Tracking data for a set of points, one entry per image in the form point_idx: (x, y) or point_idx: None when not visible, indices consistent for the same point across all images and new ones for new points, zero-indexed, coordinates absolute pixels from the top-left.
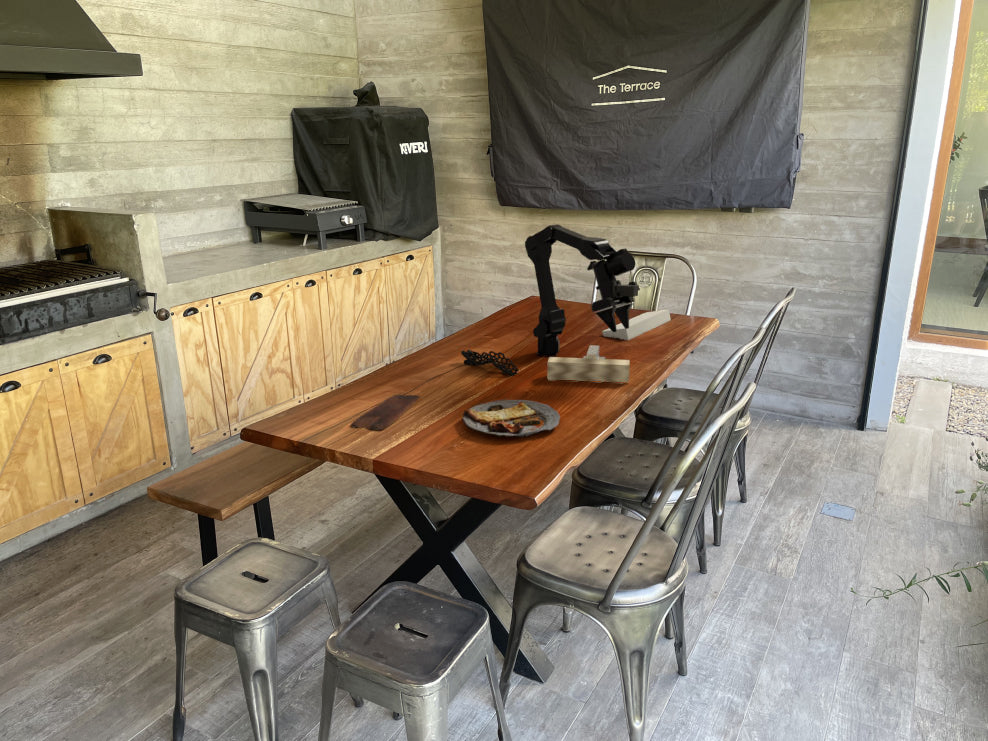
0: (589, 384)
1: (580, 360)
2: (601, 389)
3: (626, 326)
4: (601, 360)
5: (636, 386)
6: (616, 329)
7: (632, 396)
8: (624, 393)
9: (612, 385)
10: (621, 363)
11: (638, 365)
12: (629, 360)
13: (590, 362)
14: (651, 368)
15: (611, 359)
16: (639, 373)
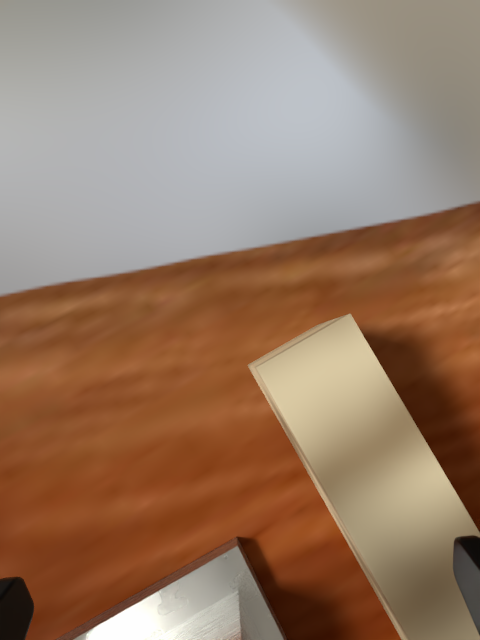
0: (444, 470)
1: (470, 638)
2: (464, 383)
3: (9, 623)
4: (380, 516)
5: (328, 276)
6: (475, 554)
7: (449, 226)
8: (440, 272)
9: (386, 372)
10: (350, 372)
11: (27, 434)
12: (263, 363)
13: None
14: (36, 352)
15: (318, 473)
16: (148, 360)
